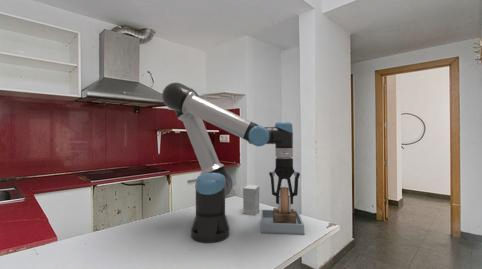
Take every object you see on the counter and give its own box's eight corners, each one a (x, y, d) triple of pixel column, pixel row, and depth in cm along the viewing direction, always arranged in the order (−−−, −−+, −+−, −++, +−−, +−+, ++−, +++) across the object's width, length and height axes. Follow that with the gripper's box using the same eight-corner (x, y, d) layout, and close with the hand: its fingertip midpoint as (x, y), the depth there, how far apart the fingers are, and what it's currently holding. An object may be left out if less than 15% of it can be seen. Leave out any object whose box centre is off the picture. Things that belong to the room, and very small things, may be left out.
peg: (280, 221, 102) (280, 188, 102) (280, 218, 106) (280, 187, 106) (289, 221, 102) (288, 189, 102) (288, 218, 106) (288, 187, 106)
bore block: (274, 227, 100) (274, 214, 100) (273, 219, 109) (273, 208, 109) (295, 228, 99) (296, 215, 99) (293, 220, 108) (293, 208, 108)
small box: (247, 209, 126) (248, 184, 126) (259, 210, 124) (259, 185, 124) (242, 213, 119) (242, 187, 119) (255, 215, 117) (255, 188, 116)
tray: (260, 233, 96) (261, 223, 96) (261, 217, 113) (261, 209, 113) (303, 234, 95) (304, 224, 95) (297, 219, 112) (297, 210, 111)
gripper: (265, 158, 101) (265, 213, 101) (305, 158, 100) (305, 214, 100) (264, 156, 108) (265, 208, 109) (302, 156, 107) (302, 208, 107)
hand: (284, 211), depth 104 cm, fingers closed on peg, 3 cm apart
